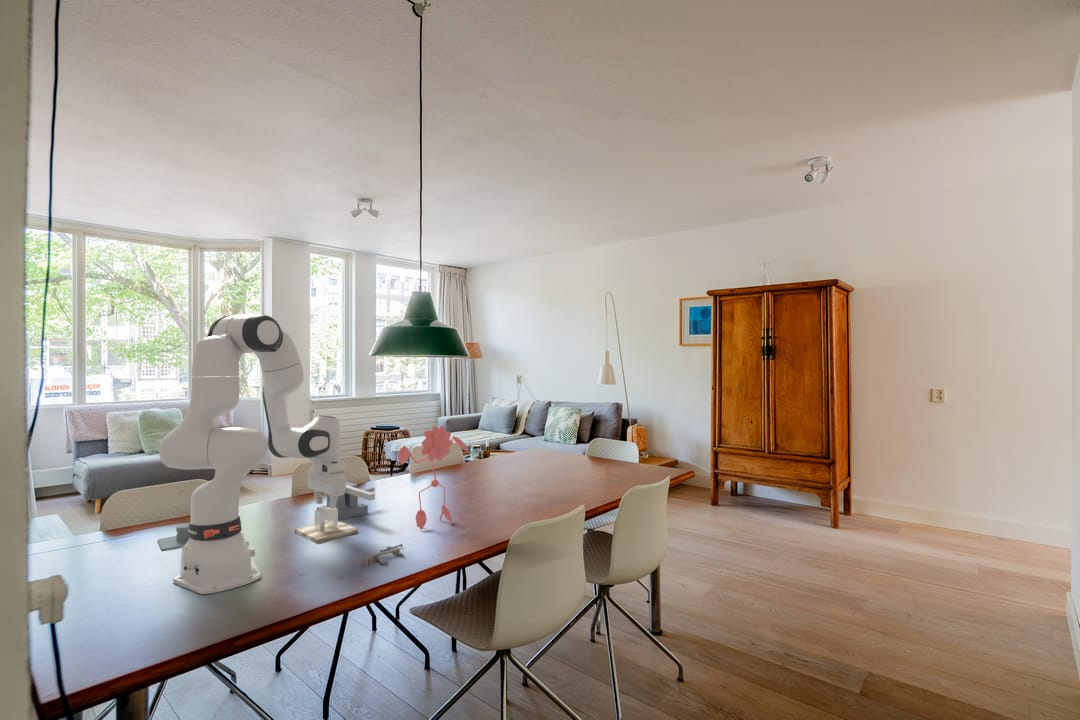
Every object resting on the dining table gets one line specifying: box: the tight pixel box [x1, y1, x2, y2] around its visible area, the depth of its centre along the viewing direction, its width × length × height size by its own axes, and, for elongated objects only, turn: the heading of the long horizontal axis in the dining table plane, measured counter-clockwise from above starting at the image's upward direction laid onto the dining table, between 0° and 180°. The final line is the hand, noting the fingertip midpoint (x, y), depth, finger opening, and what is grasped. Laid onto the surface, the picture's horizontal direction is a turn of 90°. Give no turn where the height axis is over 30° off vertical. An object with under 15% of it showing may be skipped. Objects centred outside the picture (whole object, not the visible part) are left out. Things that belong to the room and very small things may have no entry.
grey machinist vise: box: [316, 481, 376, 521], centre depth 194 cm, size 27×20×11 cm
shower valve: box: [157, 523, 190, 552], centre depth 168 cm, size 12×6×15 cm
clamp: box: [361, 543, 405, 567], centre depth 153 cm, size 15×2×10 cm
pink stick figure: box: [397, 425, 469, 535], centre depth 181 cm, size 15×26×35 cm, turn 132°
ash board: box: [294, 520, 359, 544], centre depth 175 cm, size 16×14×1 cm
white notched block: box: [314, 507, 339, 532], centre depth 175 cm, size 4×6×6 cm, turn 138°
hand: (325, 505), depth 175 cm, fingers open, 8 cm apart
